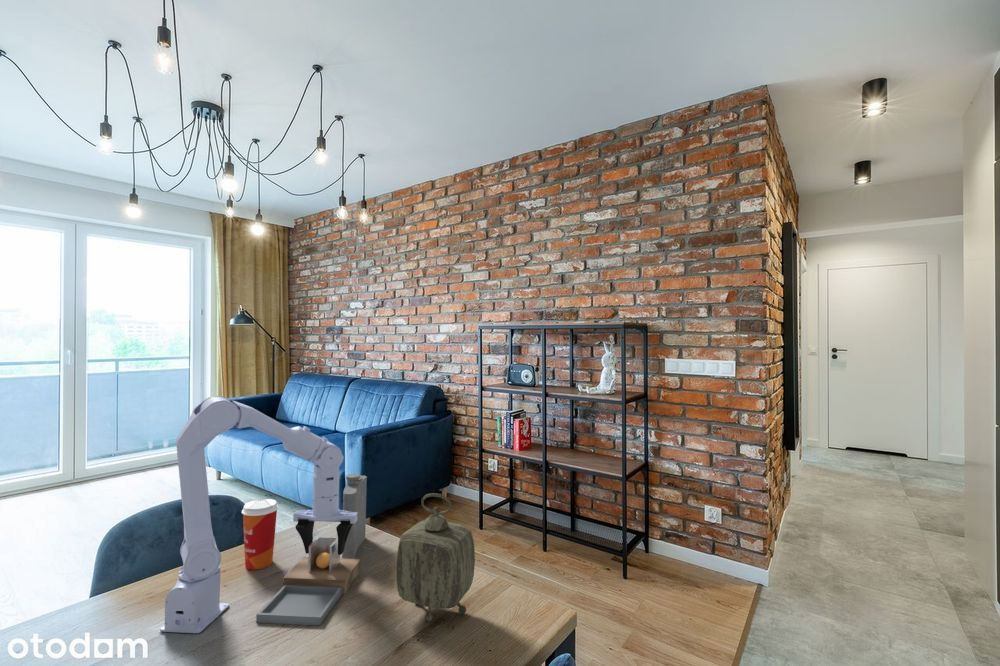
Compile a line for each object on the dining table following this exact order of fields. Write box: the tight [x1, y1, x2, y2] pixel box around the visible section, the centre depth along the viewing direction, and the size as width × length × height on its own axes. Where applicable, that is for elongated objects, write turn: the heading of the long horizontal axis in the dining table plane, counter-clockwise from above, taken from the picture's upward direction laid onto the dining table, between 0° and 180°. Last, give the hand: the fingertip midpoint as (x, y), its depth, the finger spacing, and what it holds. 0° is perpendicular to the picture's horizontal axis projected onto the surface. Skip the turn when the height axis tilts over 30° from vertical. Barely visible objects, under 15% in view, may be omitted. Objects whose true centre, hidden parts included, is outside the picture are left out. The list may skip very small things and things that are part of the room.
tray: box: [255, 585, 343, 626], centre depth 99 cm, size 11×13×2 cm
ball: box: [316, 552, 330, 569], centre depth 110 cm, size 3×3×3 cm
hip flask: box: [341, 473, 368, 559], centre depth 127 cm, size 16×4×20 cm, turn 4°
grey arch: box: [308, 536, 341, 573], centre depth 111 cm, size 5×5×6 cm
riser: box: [282, 556, 361, 595], centre depth 110 cm, size 10×14×3 cm
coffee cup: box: [241, 498, 279, 571], centre depth 117 cm, size 8×8×15 cm
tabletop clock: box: [396, 492, 476, 623], centre depth 97 cm, size 14×9×25 cm, turn 70°
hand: (324, 552), depth 111 cm, fingers open, 7 cm apart
